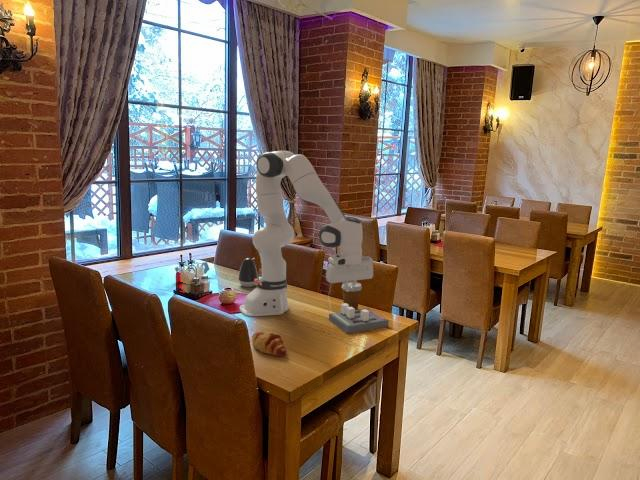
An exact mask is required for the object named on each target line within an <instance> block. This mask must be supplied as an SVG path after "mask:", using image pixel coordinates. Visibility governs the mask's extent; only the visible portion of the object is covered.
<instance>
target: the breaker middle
mask: <svg viewBox="0 0 640 480" xmlns="http://www.w3.org/2000/svg"><path fill="white" fill-rule="evenodd" d="M346 316H347V317H348V318H349V319H350V318H354V317H355V309H354V308H353V307H347V311H346Z"/></svg>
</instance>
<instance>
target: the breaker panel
mask: <svg viewBox="0 0 640 480" xmlns="http://www.w3.org/2000/svg"><path fill="white" fill-rule="evenodd" d="M364 309H366V310H368V311H369V321H363V320H361V319H360V317H361V310H364ZM328 321H329V322H331V323H332V324H333V325H335V326H336V327H337V328H339V329H340V330H341V331H342V332H344V333H345V334H352V333H357V332H358V333H359V332H363V331H370V330H376V329H383V328H388V327H389V318H386V317H385V316H383V315H381V314H380V313H378V312H376V311H374V310H373V309H371V308H369V307H366V308H365V307H364V308H358V310H355V317H354V318H350V319H349V318H348V317H347V316H346V314H345V315H344V314H342V313H341V311H339V312H337V311H336V312H331V313H329V314H328Z"/></svg>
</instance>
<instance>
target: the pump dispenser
mask: <svg viewBox="0 0 640 480" xmlns="http://www.w3.org/2000/svg"><path fill="white" fill-rule="evenodd" d="M255 260H256V258H255V257H253V258H250V257H246V258H244V259H243V261H242V262H241V265H240V268H239V272H238V281H239V283H240V285H241V286H242V287H244V288H251V287H255V285H257V284H256V283H255V282H254V281H255V279H258V280H259V275H258V270H257V269H258V268H257V266H256V264H255Z"/></svg>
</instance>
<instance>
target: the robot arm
mask: <svg viewBox="0 0 640 480" xmlns="http://www.w3.org/2000/svg"><path fill="white" fill-rule="evenodd" d="M256 169H257V173H256V177H255V193H256V200H257V201H256V203H257V209H258V210H257V211H258V214H260V216H261V217H262V218H263V220H264V223H265V225H266V226H263V227H261V228H259V229H258V230H257V231H255V232H254V234H253V236H252V245H253V247H254V248H255V249H256V250H257V252H258V254H259V257H260V263H261V277H260V279H259V278H258V279H255V281H254V282H255V283H256V284H255V285H257V286H256V287H255V288H254V289H253V290H251V291H250V292H249V293H248V294H247V295H246V296H245V299H244V304H241V305H240V306H239V311H240V312H241V314H243V315H244V316H247V317H262V316H263V317H264V316H278V315H281V316H282V315H283V314H284V312H287V311H288V310H289V309H290V306H289V303H288V302H289V301H288V296H287V290H288V289H287V288H288V282H287V281H288V280H287V262H286V261H287V260H286V259H284V258H283V253H282V247H285V246H287V245H289V244H290V243H291V242H292V241H293V240H294V238H295V230H294V228H293V226H292V225H291V224H290V223H289V220H288V218H287V215H286V212H285V209H284V202H283V194H282V187H281V182H282V179H283V178H284V179H289V180H290V182H291V184H292V186H293V188H294V191H295V192H296V194H297V195H298V197H299V198H300V199H302V200H304V201H306V202H309V203H313V204H315V205H318V206H319V207H320V208H322V210H324V212H325V214H326V216H327V217H328V219H329V221H330V223H328V224H324V225H323V226H322V227H320V229H319V231H318V232H319V233H318V239H319V242H320V244H321V245H322V246H323V247H325V248H329V249H330V248H331V249H332V248H339V252H337V253H335V254H334V255H331V256H329V257H328V259H327V261H328V264H327V266H326V272H325V279H326V281H327V282H328V283H330V284H337V283H342V284H343V283H344V285H345V287H346V291H347V292H349V291H354V287H355V285H356V283H358V281H362V280H363V281H364V280H369V279H370V280H371V279H372V278H373V277H374V265H373V264H374V262H373V261H374V259H373V258H372V256H369V255H367V256H362V255H363V248H362V242H363V223H362V221H361V220H360V219H359V218H358V217H353V216H346V215H345V214H344V212H343V210H342V209H341V208H340V206H339V204H338V202H337V201H336V200H335V198H334V196H333V195H332V193H331V192H330V191H329V189H328V188H327V187H325V185H324V183H323V181H322V180H321V179H320V178H319V177H320V176H318V174H317V172H316V170H315V167H314V166H313V164H312V163H311V162H310V160H309V159H308V158H307V157H306V156H305V155H304V154H301V153H299V154H298V152H296V151H293V150H275V151H266V152H263V153H262V154H260V155H259V156H258V157H257V160H256ZM349 282H352V284H351V286H348V284H349Z"/></svg>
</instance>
